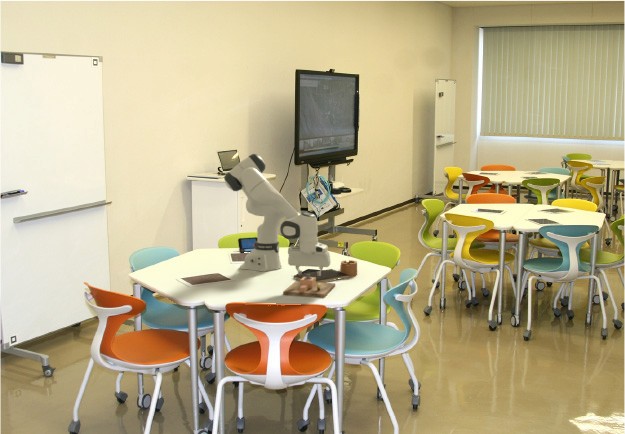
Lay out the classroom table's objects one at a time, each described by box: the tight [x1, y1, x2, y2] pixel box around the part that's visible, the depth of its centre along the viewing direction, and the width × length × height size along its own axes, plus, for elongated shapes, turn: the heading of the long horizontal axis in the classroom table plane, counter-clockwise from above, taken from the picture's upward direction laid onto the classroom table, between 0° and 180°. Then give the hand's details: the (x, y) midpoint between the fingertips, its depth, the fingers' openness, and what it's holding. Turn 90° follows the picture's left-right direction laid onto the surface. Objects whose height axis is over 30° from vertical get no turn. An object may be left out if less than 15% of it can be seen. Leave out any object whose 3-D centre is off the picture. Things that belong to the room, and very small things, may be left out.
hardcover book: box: [293, 268, 349, 283], centre depth 359 cm, size 16×23×2 cm
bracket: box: [339, 260, 358, 278], centre depth 369 cm, size 18×8×7 cm, turn 0°
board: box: [282, 280, 336, 298], centre depth 336 cm, size 20×20×2 cm
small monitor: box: [237, 236, 258, 254], centre depth 426 cm, size 12×11×7 cm
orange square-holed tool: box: [299, 277, 316, 292], centre depth 333 cm, size 6×13×4 cm, turn 164°
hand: (309, 275), depth 337 cm, fingers open, 8 cm apart
